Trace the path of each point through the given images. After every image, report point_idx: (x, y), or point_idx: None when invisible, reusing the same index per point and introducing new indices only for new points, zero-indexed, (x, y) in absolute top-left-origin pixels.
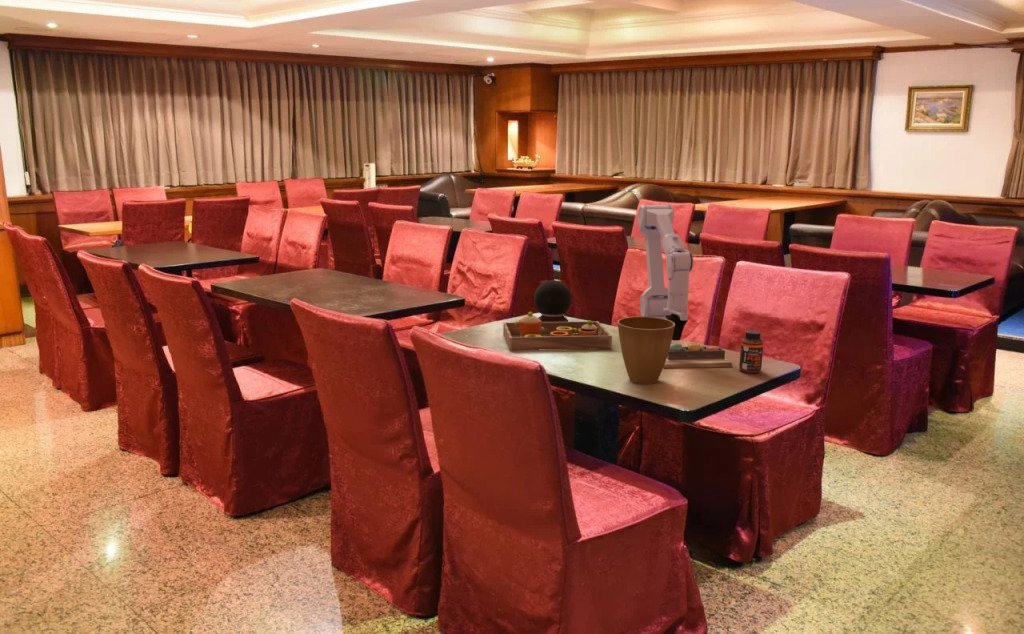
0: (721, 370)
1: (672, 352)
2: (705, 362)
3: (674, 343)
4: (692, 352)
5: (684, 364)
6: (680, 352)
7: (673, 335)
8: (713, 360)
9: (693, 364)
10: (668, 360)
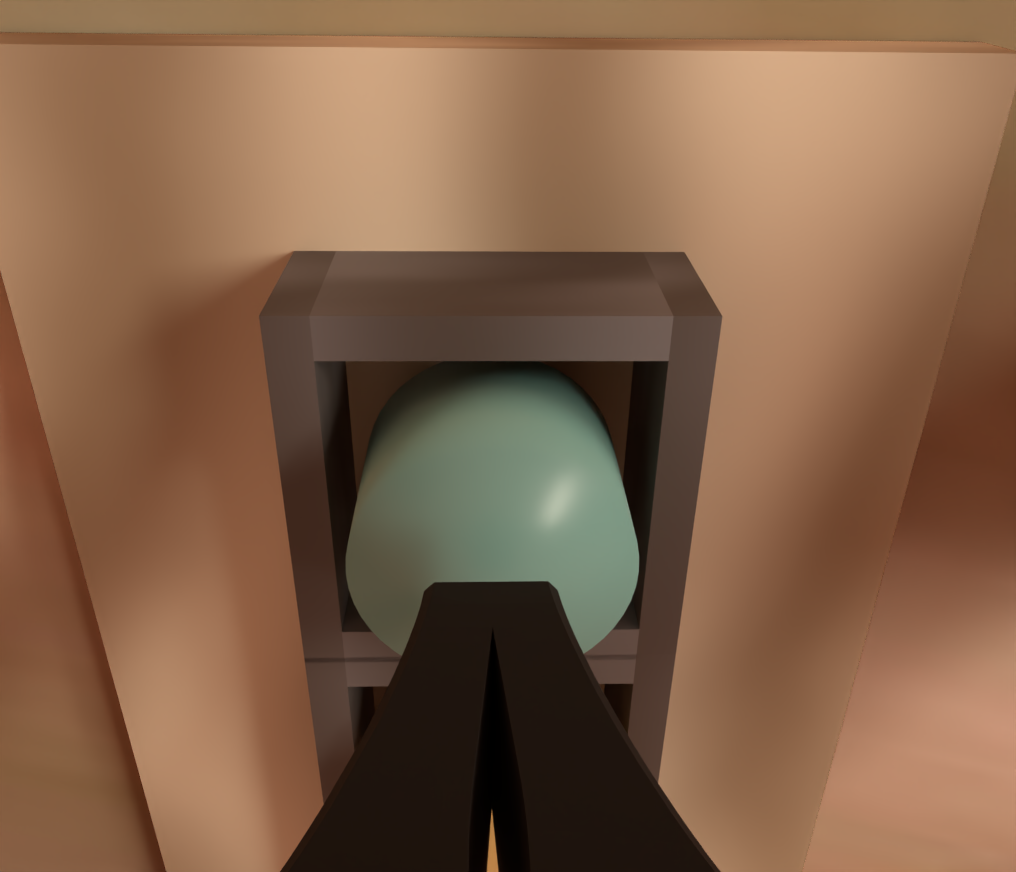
0: (16, 799)
1: (269, 392)
2: (165, 737)
3: (601, 575)
4: (315, 714)
5: (60, 453)
6: (294, 539)
7: (395, 688)
8: (283, 836)
9: (92, 577)
10: (251, 244)
